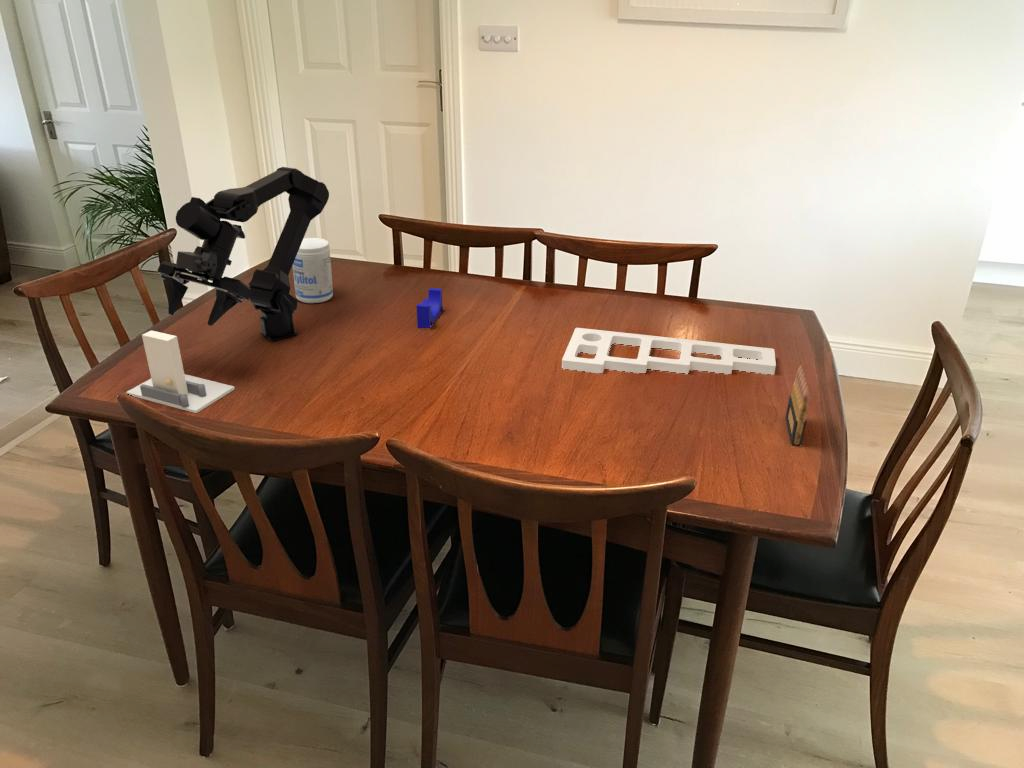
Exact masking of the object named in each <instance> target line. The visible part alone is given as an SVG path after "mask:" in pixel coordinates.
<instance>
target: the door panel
mask: <svg viewBox="0 0 1024 768" xmlns="http://www.w3.org/2000/svg"><path fill="white" fill-rule="evenodd" d="M141 338H142V341H143V347H144V352H145V356H146V360H147V365H148V369H149V374H150V379H152V383H153V387H156V388H159V389H163V390H167V391H171V392H175V393H179V394H182V395H183V394H186V395H187V396H188V390H187V385H186V380H185V375H184V374H185V370H184V365H183V360H182V356H181V351H180V350H181V349H180V345H179V340H178V336H177V335H172V334H170V333H169V334H168V333H164V332H159V331H157V330H156V331H155V330H149V331H147V332H144V333H142V334H141Z"/></svg>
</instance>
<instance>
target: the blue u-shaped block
mask: <svg viewBox="0 0 1024 768" xmlns="http://www.w3.org/2000/svg"><path fill="white" fill-rule="evenodd" d="M427 297H428V298H424V299H423V301H421V303H417V305H416V324H417V325H416V326H417V329H420V328H430V325H431V326H432V327H433V325H434V324H435V322H436V321H437V319H438V318H437V317H440V315H441V314H442V312H443V311H442V310H443V288H438V287H437V288H435V287H430V288H429V289H428V296H427ZM435 320H436V321H435ZM434 321H435V322H434ZM433 323H434V324H433ZM432 324H433V325H432ZM430 329H431V328H430Z"/></svg>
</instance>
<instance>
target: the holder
mask: <svg viewBox="0 0 1024 768" xmlns="http://www.w3.org/2000/svg"><path fill="white" fill-rule="evenodd" d="M614 343H616V344H614ZM612 344H614V345H617V344H624V345H623V346H626V345H632V346H631V347H635V346H640V347H639V349H638V355H637V357H636V358H626V357H618V356H610V352H609V351H611V349H612V346H613V345H612ZM611 345H612V346H611ZM610 348H611V349H610ZM651 348H662V349H672V350H678V351H681V353H680V355H679V358H677V359H676V358H666V357H660V356H659V357H658V356H651V350H652V349H651ZM662 349H661V350H662ZM678 351H677V352H678ZM580 352H583V353H582V354H585V353H588V354H587V355H595V354H596V355H595V356H594V358H586V357H579V356H578V355H579V354H581V353H580ZM693 352H696V353H695V354H698V353H706V354H705V355H707V354H713V355H712V356H716V355H720V356H721V357H720V356H719V357H720V358H721V359H715V358H714V359H713V358H707V357H706V358H705V357H699V356H698V357H697V356H692V354H694V353H693ZM578 353H579V354H578ZM691 353H692V354H691ZM649 355H650V356H649ZM738 357H742V358H738ZM747 358H748V359H747ZM749 358H750V359H749ZM756 359H758V360H756ZM776 367H777V363H776V354H775V349H774V348H772V347H771V348H770V347H759V346H751V345H743V344H742V345H740V344H732V343H723V342H715V341H714V342H713V341H704V340H697V339H696V340H695V339H686V338H676V337H667V336H658V335H657V336H656V335H649V334H642V333H641V334H640V333H630V332H629V333H628V332H622V331H621V332H620V331H612V330H611V331H610V330H600V329H593V328H592V329H591V328H585V327H584V328H583V327H575V328H574V331H573V333H572V336H571V338H570V340H569V343H568V344H567V347H566V349H565V352H564V354H563V356H562V359H561V369H562V368H563V369H562V370H565V369H569V370H568V371H573V370H577V371H576V372H582V371H585V372H584V373H590V372H591V374H599V373H602V374H604V371H605V370H604V369H609V370H608V371H613V370H617V371H616V372H622V371H625V372H624V373H630V372H633V373H632V374H639V373H647V371H648V370H647V369H651V370H650V371H653V370H660V371H659V372H662V371H669V372H668V373H670V372H676V373H675V374H679V373H685V374H684V375H689V374H688V373H690V371H693V370H698V371H697V372H702V371H708V372H707V373H710V372H715V373H714V374H719V373H724V374H723V375H728V374H731V375H732V374H733V373H732V372H733V371H732V370H739V371H738V372H741V371H746V372H745V373H750V372H755V373H754V374H759V373H761V374H760V375H767V374H771V375H770V376H775V372H776Z"/></svg>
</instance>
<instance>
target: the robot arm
mask: <svg viewBox="0 0 1024 768" xmlns="http://www.w3.org/2000/svg"><path fill="white" fill-rule="evenodd" d="M284 193H286V194H288V198H287V199H288V206H289V213H288V217H287V218H286V221H285V223H284V226H283V228H282V230H281V233H280V235H279V237H278V240H277V241H276V244H275V247H274V250H273V252H272V254H271V256H270V260H269V262H268V263H267V266H266V267H265V268H263V269H257V268H256V269H255V270H254V272H253V274H252V278H251V280H250V281H249V282H248V285H247V284H246V283H244V282H243V281H241V280H240V279H237V278H232V277H228V276H223V275H224V273H225V270H226V267H227V266H231V265H232V262H233V261H232V260H231V259H230V257H231V254H232V252H233V248H234V246H235V243H236V240H237V239H245V238H246V234H245V232H244V231H243V228H242V227H243V226H242V225H239V224H232V223H231V222H229V221H233V222H238V223H247V222H248V221H249V220H250V219H252V217H255V215H256V214H257V213H258V210H259V207H260V206H262V205H263V204H265V203H267V202H269V201H270V200H273V199H274V198H276V197H278V196H280V195H282V194H284ZM213 197H214V198H211V200H209V201H207V202H205V201H204V200H203V199H201V198H200V197H195V196H192V197H190V201H188V202H186V203H184V204H182V206H181V207H180V208H179V209H178V210H177V211H176V215H175V223H176V224H177V226H178V227H179V228H181V229H183V230H184V231H186V232H187V233H188V234H190V235H192V236H194V237H196V238H197V239H199V240H201V241H203V242H202V245H201V246H199V245H197V246H196V248H195V249H194V251H193V252H192V251H177V254H176V262H175V263H174V262H169V261H166V260H164V261H162V262H161V263H160V264H159V265H158V268H157V270H156V273H157V274H159V275H160V277H161V279H162V280H164V281H165V283H166V286H167V293H168V296H167V299H168V300H167V301H168V302H167V304H168V315H170V316H174V315H175V313H176V311H177V309H179V306H180V304H181V302H182V301H183V299H184V297H185V295H186V293H187V291H188V289H189V286H187V284H189V283H190V282H191V283H195V284H199V285H202V286H207V287H210V288H215V296H216V297H215V301H214V304H213V307H212V309H211V312H210V314H209V317H208V321H207V325H208V326H209V327H212V326H213V325H215V323H217V321H218V320H220V319H221V318H222V317H223V316H224V315H225V314H226V313H227V312H228V311H229V310H230V309H232V308H233V307H234V306H236V305H237V304H242V302H243V301H246V302H249V300H250V302H251V303H252V305H253V307H254V310H256V311H260V315H261V316H259V322H260V329H261V330H260V333H261V334H262V335H263V336H265V337H266V338H267V339H269V340H270V341H272V342H274V341H279V340H283V339H286V338H291V337H294V336H296V335H297V336H298V332H297V331H296V330H295V327H294V318H293V314H294V311H296V310H297V309H298V303H299V302H298V301H299V300H298V299H297V298H295V297H294V296H293V295H291V294H290V291H291V284H290V277H289V274H290V272H291V269H293V263H294V260H295V258H296V255H297V253H298V250H299V248H300V246H301V243H302V241H303V239H304V238H305V236H306V233H307V231H308V228H309V226H310V223H311V222H312V220H313V219H314V218H316V217H317V216H318V215H320V214H321V213H322V212H323V210H324V208H325V207H326V205H327V203H328V201H329V198H330V192H329V189H328V187H327V185H326V183H324V182H322V181H319V180H316V179H315V178H313V177H311V176H308V175H307V174H305V173H303V172H302V171H301V170H300V169H297V168H294V167H286V166H281V167H278V168H277V169H276V171H273V172H271V173H270V174H268V175H266V176H263V177H261V178H259V179H258V180H256V181H253V182H251V183H250V184H248V185H246V186H244V187H236V188H235V187H234V188H228V189H225V190H220V191H218V192H216V193H215V194H214V196H213ZM227 220H228V221H227Z"/></svg>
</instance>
